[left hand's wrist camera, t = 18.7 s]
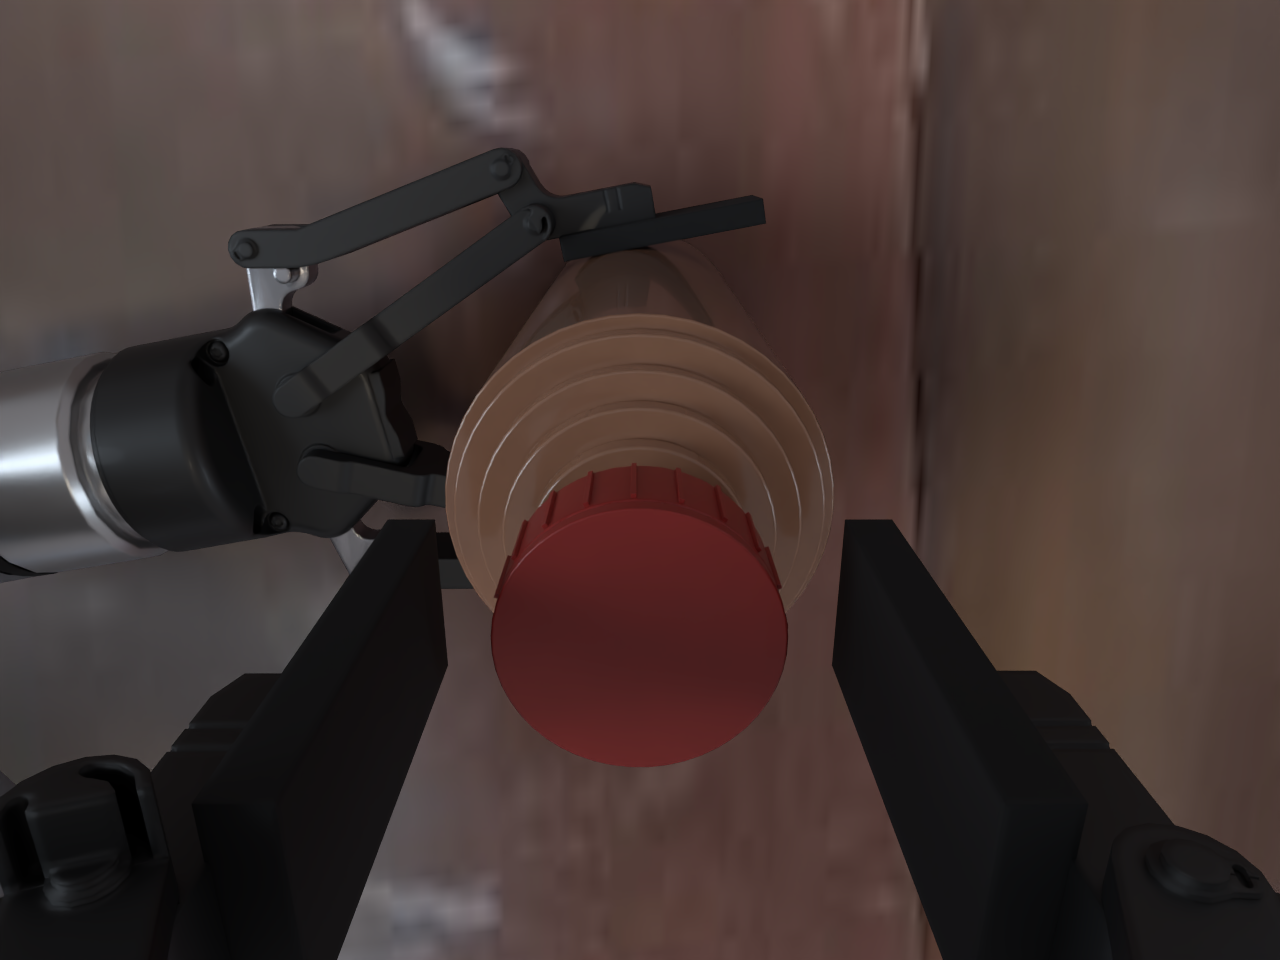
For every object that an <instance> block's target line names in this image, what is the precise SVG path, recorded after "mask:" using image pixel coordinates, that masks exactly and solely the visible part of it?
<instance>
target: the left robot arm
mask: <svg viewBox="0 0 1280 960" xmlns="http://www.w3.org/2000/svg"><path fill="white" fill-rule="evenodd" d="M447 666H448V660H447V649H446V638H445V627H444V616H443V605H442V594H441V583H440V571H439V560H438V549H437V538H436V527H435V520H387V522H386V523H385V525H384V526H383V528H382V529H381V530H380V532H379V533H378V535H377V536H376V538H375V539H374V541H373V542H372V543H371V545H370V546H369V548H368V549H367V551H366V552H365V554H364V555H363V556H362V558H361V559H360V561H359V562H358V564H357V565H356V567H355V568H354V569H353V571H352V572H351V574H350V575H349V577H348V578H347V580H346V581H345V582H344V584H343V585H342V587H341V588H340V590H339V591H338V593H337V594H336V596H335V597H334V598H333V600H332V601H331V603H330V604H329V606H328V607H327V609H326V610H325V611H324V613H323V614H322V616H321V617H320V619H319V620H318V622H317V623H316V624H315V626H314V627H313V629H312V630H311V632H310V633H309V635H308V636H307V637H306V639H305V640H304V642H303V643H302V645H301V646H300V648H299V649H298V650H297V652H296V653H295V655H294V656H293V658H292V659H291V661H290V662H289V663H288V665H287V666H286V668H285V669H284V671H283V672H282V674H244V675H242V676H241V677H239V678H238V679H236V680H235V681H233V682H232V683H230V684H229V685H227V686H226V687H224V688H223V689H221V690H220V691H218V692H217V693H215V694H214V695H212V696H211V697H210V698H209V700H208V701H207V702H206V703H205V705H204V706H203V707H202V708H201V710H200V711H199V712H198V713H197V715H196V716H195V717H194V718H193V720H192V721H191V722H190V723H189V729H185V730H184V731H183V732H182V734H181V735H180V736H179V737H178V739H177V740H176V741H175V742H174V744H173V745H172V749H171V752H166V754H165V755H164V756H163V758H162V759H161V760H160V761H159V763H158V764H157V765H156V766H155V768H154V769H153V770H152V771H151V772H150V770H149V769H148V768H147V767H146V766H145V765H143V764H142V763H141V762H140V761H138V760H137V759H134V758H129V757H123V756H118V755H105V756H93V757H84V758H81V759H77V760H73V761H70V762H66V763H63V764H59V765H56V766H53V767H51V768H48V769H46V770H44V771H42V772H40V773H38V774H36V775H34V776H32V777H30V778H27V779H25V780H23V781H21V782H20V783H19V784H17V785H16V786H15V787H13V788H12V789H10V790H9V791H8V792H6V793H5V794H4V795H2V796H1V797H0V884H1V887H2V890H3V893H4V896H3V897H1V898H0V960H337V958H338V956H339V953H340V950H341V948H342V945H343V942H344V940H345V937H346V934H347V932H348V929H349V927H350V924H351V921H352V919H353V916H354V913H355V911H356V908H357V905H358V903H359V900H360V897H361V895H362V892H363V889H364V887H365V884H366V881H367V879H368V876H369V873H370V871H371V868H372V865H373V863H374V860H375V857H376V855H377V852H378V850H379V847H380V844H381V842H382V839H383V836H384V834H385V831H386V828H387V826H388V823H389V820H390V818H391V815H392V812H393V810H394V807H395V804H396V802H397V799H398V796H399V794H400V791H401V788H402V786H403V783H404V780H405V778H406V775H407V773H408V770H409V767H410V765H411V762H412V759H413V757H414V754H415V751H416V749H417V746H418V743H419V741H420V738H421V735H422V733H423V730H424V727H425V725H426V722H427V719H428V717H429V714H430V711H431V709H432V706H433V703H434V701H435V698H436V696H437V693H438V690H439V688H440V685H441V682H442V680H443V677H444V674H445V672H446V669H447ZM832 666H833V669H834V672H835V674H836V677H837V680H838V682H839V685H840V688H841V690H842V693H843V696H844V698H845V701H846V703H847V706H848V709H849V711H850V714H851V717H852V719H853V722H854V725H855V727H856V730H857V733H858V735H859V738H860V741H861V743H862V746H863V749H864V751H865V754H866V757H867V759H868V762H869V765H870V767H871V770H872V773H873V775H874V778H875V780H876V783H877V786H878V788H879V791H880V794H881V796H882V799H883V802H884V804H885V807H886V810H887V812H888V815H889V818H890V820H891V823H892V826H893V828H894V831H895V834H896V836H897V839H898V842H899V844H900V847H901V850H902V852H903V855H904V857H905V860H906V863H907V865H908V868H909V871H910V873H911V876H912V879H913V881H914V884H915V887H916V889H917V892H918V895H919V897H920V900H921V903H922V905H923V908H924V911H925V913H926V916H927V919H928V921H929V924H930V927H931V929H932V932H933V934H934V937H935V940H936V942H937V945H938V948H939V950H940V953H941V956H942V958H943V960H1280V894H1279V893H1276V892H1275V891H1274V890H1273V888H1272V887H1271V885H1270V884H1269V883H1268V881H1267V880H1266V878H1265V877H1264V875H1263V874H1262V872H1261V871H1260V870H1258V869H1257V868H1256V867H1255V866H1254V865H1252V864H1251V863H1250V862H1249V861H1248V860H1246V859H1245V858H1244V857H1243V856H1242V855H1240V854H1239V853H1238V852H1237V851H1235V850H1233V849H1231V848H1230V847H1228V846H1226V845H1224V844H1222V843H1220V842H1218V841H1217V840H1215V839H1213V838H1211V837H1209V836H1207V835H1204V834H1201V833H1198V832H1195V831H1192V830H1189V829H1185V828H1182V827H1179V826H1176V825H1174V824H1173V823H1172V821H1171V820H1170V819H1169V818H1168V816H1167V815H1166V814H1165V813H1164V811H1163V810H1162V809H1161V808H1160V806H1159V805H1158V804H1157V803H1156V801H1155V800H1154V799H1153V797H1152V796H1151V795H1150V794H1149V792H1148V791H1147V790H1146V789H1145V787H1144V786H1143V785H1142V784H1141V782H1140V781H1139V780H1138V779H1137V777H1136V776H1135V775H1134V774H1133V772H1132V771H1131V770H1130V769H1129V767H1128V766H1127V765H1126V764H1125V762H1124V761H1123V760H1122V759H1121V757H1120V756H1119V755H1118V754H1117V752H1116V751H1115V750H1114V749H1110V748H1109V742H1108V741H1107V740H1106V739H1105V737H1104V736H1103V735H1102V734H1101V732H1100V731H1099V730H1098V729H1097V727H1096V726H1092V725H1091V720H1090V719H1089V717H1088V716H1087V715H1086V714H1085V712H1084V711H1083V710H1082V709H1081V707H1080V706H1079V705H1078V703H1077V702H1076V701H1075V700H1074V698H1073V697H1072V696H1071V695H1070V694H1069V693H1068V692H1066V691H1065V690H1063V689H1062V688H1060V687H1059V686H1057V685H1056V684H1054V683H1053V682H1051V681H1050V680H1048V679H1047V678H1046V677H1044V676H1043V675H1041V674H1040V673H1038V672H1037V671H996V669H995V668H994V666H993V665H992V663H991V662H990V661H989V659H988V658H987V656H986V655H985V653H984V652H983V650H982V649H981V648H980V646H979V645H978V643H977V642H976V640H975V639H974V637H973V636H972V635H971V633H970V632H969V630H968V629H967V627H966V626H965V624H964V623H963V622H962V620H961V619H960V617H959V616H958V614H957V613H956V611H955V610H954V609H953V607H952V606H951V604H950V603H949V601H948V600H947V598H946V597H945V596H944V594H943V593H942V591H941V590H940V588H939V587H938V585H937V584H936V583H935V581H934V580H933V578H932V577H931V575H930V574H929V572H928V571H927V569H926V568H925V567H924V565H923V564H922V562H921V561H920V559H919V558H918V556H917V555H916V554H915V552H914V551H913V549H912V548H911V546H910V545H909V543H908V542H907V541H906V539H905V538H904V536H903V535H902V533H901V532H900V530H899V529H898V528H897V526H896V525H895V523H894V522H893V520H845V527H844V538H843V549H842V560H841V571H840V582H839V594H838V605H837V616H836V627H835V638H834V649H833V660H832Z"/></svg>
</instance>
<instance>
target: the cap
mask: <svg viewBox="0 0 1280 960" xmlns="http://www.w3.org/2000/svg"><path fill="white" fill-rule="evenodd" d="M781 588H782V585H781V582H780V579H779V576H778V573H777V570H776V567H775V564H774V561H773V558H772V555H771V552H770V549H769V546H767V547H764V544H763V542H762V539H761V537H760V535H759V533H758V532H757V530H756V528H755V526H754V523H753V520H752V516H751V514H750V513H749V512H747V513H746V514H745V513H744V511H743V510H742V509H741V508H740V507H739V506H738V505H737V504H736V503H735V502H734V501H733V500H732V499H731V498H729V497H728V496H727V495H725V494H724V493H723V492H722V491H721V487H720V486H719V485H717V484H716V486H715V487H714V486H712V485H710V484H709V483H707V482H705V481H703V480H701V479H699V478H696V477H694V476H691V475H689V474H686V473H683V472H681V469H680V468H677V467H676V469H675V470H671V469H668V468H663V467H661V468H660V467H652V466H637V463H631V466H627V467H618V468H610V469H607V470H603V471H599V472H596V473H594V472H593V470H592V471H589V472H588V475H587V476H585V477H583V478H580V479H578V480H576V481H574V482H572V483H570V484H569V485H567V486H565V487H563V488H562V489H560V490H559V491H558V492H555V491H554V490H553V491H552V492H550V495H549V498H548V499H547V500H546V501H545V502H544V503H543V504H542V505H541V506H540V507H539V508H538V509H537V510H536V511H535V513H534V514H533V515H532V516H531V518H530V519H529V520H528V521H527V520H524V521H523V522H522V525H521V528H520V531H519V534H518V537H517V541H516V544H515V546H514V549H513V552H512V555H511V556H509V555H507V558H506V561H505V564H504V567H503V570H502V573H501V576H500V580H499V583H498V586H497V589H496V592H495V595H494V598H497V601H496V605H495V609H494V613H493V618H492V627H491V648H492V656H493V661H494V665H495V670H496V672H497V675H498V678H499V680H500V683H501V685H502V687H503V689H504V691H505V693H506V695H507V696H508V698H509V700H510V702H511V703H512V704H513V706H514V707H515V708H516V710H517V711H518V713H519V714H520V715H521V716H522V717H523V718H524V719H525V720H526V721H527V722H528V723H529V724H530V725H531V727H533V728H534V729H535V730H536V731H537V732H539V733H540V734H541V735H542V736H544V737H545V738H546V739H548V740H549V741H551V742H553V743H554V744H556V745H557V746H559V747H561V748H563V749H565V750H567V751H569V752H571V753H573V754H575V755H578V756H581V757H584V758H587V759H590V760H592V761H596V762H601V763H605V764H610V765H617V766H626V767H653V766H662V765H669V764H674V763H678V762H683V761H686V760H689V759H692V758H695V757H698V756H701V755H703V754H705V753H708V752H710V751H712V750H714V749H716V748H718V747H720V746H721V745H723V744H725V743H726V742H728V741H729V740H731V739H733V738H734V737H735V736H736V735H738V734H739V733H740V732H741V731H743V730H744V729H745V728H746V727H747V726H748V725H749V724H750V723H751V722H752V721H753V720H754V719H755V718H756V717H757V716H758V715H759V714H760V712H761V711H762V710H763V708H764V707H765V706H766V704H767V703H768V702H769V700H770V698H771V696H772V694H773V693H774V691H775V689H776V687H777V685H778V682H779V680H780V677H781V675H782V672H783V669H784V664H785V660H786V655H787V645H788V623H787V619H786V614H785V610H784V606H783V602H782V599H781V596H780V593H779V589H781Z"/></svg>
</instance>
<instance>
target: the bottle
mask: <svg viewBox="0 0 1280 960" xmlns="http://www.w3.org/2000/svg"><path fill="white" fill-rule="evenodd" d="M631 463H637V466H652V467H660V468H661V467H663V468H668V469H671V470H675V469H676V467H677V468H680V469H681V472H683V473H686V474H689V475H691V476H694V477H696V478H699V479H701V480H703V481H705V482H707V483H709V484H710V485H712V486H714V487H715V486H716V484H717V485H719V486H720V487H721V491H722V492H723V493H724V494H725V495H727V496H728V497H729V498H731V499H732V500H733V501H734V502H735V503H736V504H737V505H738V506H739V507H740V508H741V509H742V510H743V511H744V513H745V514H746V513H747V512H749V513H750V514H751V516H752V520H753V523H754V526H755V528H756V530H757V532H758V533H759V535H760V537H761V539H762V542H763V544H764V547H767V546H769V549H770V552H771V555H772V558H773V561H774V564H775V567H776V570H777V573H778V576H779V579H780V582H781V585H782V588H781V589H779V593H780V596H781V599H782V602H783V606H784V610H785V613H786V612H787V611H788V610H789V609H790V608H791V606H792V605H793V604H794V603H795V601H796V600H797V599H798V598H799V597H800V595H801V594H802V593H803V591H804V589H805V588H806V586H807V584H808V583H809V581H810V580H811V578H812V576H813V575H814V573H815V571H816V568H817V566H818V564H819V562H820V560H821V557H822V555H823V553H824V550H825V546H826V543H827V539H828V536H829V533H830V529H831V522H832V515H833V508H834V480H833V473H832V466H831V459H830V455H829V452H828V448H827V445H826V441H825V438H824V435H823V433H822V430H821V428H820V426H819V424H818V421H817V419H816V417H815V415H814V413H813V411H812V410H811V408H810V406H809V405H808V403H807V402H806V400H805V398H804V397H803V395H802V394H801V392H800V391H799V389H798V388H797V386H796V385H795V383H794V382H793V380H792V379H791V377H790V376H789V374H788V373H787V371H786V370H785V369H784V367H783V366H782V364H781V363H780V361H779V360H778V358H777V357H776V355H775V354H774V352H773V351H772V349H771V348H770V346H769V345H768V343H767V342H766V340H765V339H764V338H763V336H762V335H761V333H760V332H759V330H758V329H757V327H756V326H755V324H754V323H753V321H752V320H751V318H750V317H749V315H748V314H747V312H746V311H745V310H744V308H743V307H742V305H741V304H740V302H739V301H738V299H737V298H736V296H735V295H734V293H733V292H732V290H731V289H730V287H729V286H728V284H727V283H726V281H725V280H724V279H723V277H722V276H721V274H720V273H719V271H718V270H717V268H716V267H715V266H714V265H713V264H712V263H711V261H710V260H709V259H708V258H707V257H706V256H705V255H703V254H702V253H701V252H700V251H699V250H697V249H696V248H695V247H693V246H692V245H690V244H689V243H687V242H685V241H683V240H676V241H671V242H666V243H660V244H655V245H650V246H645V247H639V248H634V249H629V250H624V251H618V252H613V253H608V254H602V255H597V256H592V257H587V258H581V259H576V260H571V261H569V262H568V263H567V264H566V265H565V267H564V268H563V269H562V270H561V272H560V273H559V275H558V276H557V278H556V279H555V281H554V282H553V283H552V285H551V286H550V288H549V289H548V291H547V292H546V294H545V295H544V297H543V298H542V300H541V301H540V303H539V304H538V305H537V307H536V308H535V310H534V311H533V313H532V314H531V316H530V317H529V319H528V320H527V322H526V323H525V325H524V326H523V327H522V329H521V330H520V332H519V333H518V335H517V336H516V338H515V339H514V341H513V342H512V344H511V345H510V347H509V348H508V349H507V351H506V352H505V354H504V355H503V357H502V358H501V360H500V361H499V363H498V364H497V366H496V367H495V369H494V370H493V371H492V373H491V374H490V376H489V377H488V379H487V380H486V382H485V383H484V385H483V386H482V388H481V389H480V391H479V392H478V394H477V395H476V397H475V398H474V400H473V402H472V403H471V405H470V407H469V408H468V410H467V411H466V413H465V415H464V417H463V419H462V421H461V424H460V426H459V428H458V431H457V433H456V435H455V438H454V441H453V445H452V448H451V452H450V456H449V460H448V465H447V474H446V482H445V506H446V515H447V521H448V527H449V533H450V536H451V539H452V543H453V546H454V549H455V552H456V555H457V557H458V559H459V562H460V564H461V566H462V568H463V570H464V572H465V575H466V576H467V578H468V580H469V581H470V583H471V584H472V586H473V587H474V589H475V591H476V592H477V594H478V595H479V597H480V598H481V599H482V600H483V601H484V603H485V604H486V605H487V606H488V607H489V609H490V610H491V611H492V612H493V613H494V609H495V605H496V601H497V598H494V595H495V592H496V589H497V586H498V583H499V580H500V576H501V573H502V570H503V567H504V564H505V561H506V558H507V555H509V556H511V555H512V552H513V549H514V546H515V544H516V541H517V537H518V534H519V531H520V528H521V525H522V522H523V521H524V520H527V521H528V520H529V519H530V518H531V516H532V515H533V514H534V513H535V511H536V510H537V509H538V508H539V507H540V506H541V505H542V504H543V503H544V502H545V501H546V500H547V499H548V498H549V495H550V492H552V491H553V490H554V491H555V492H558V491H559V490H560V489H562V488H563V487H565V486H567V485H569V484H570V483H572V482H574V481H576V480H578V479H580V478H583V477H585V476H587V475H588V472H589V471H592V470H593V472H594V473H596V472H599V471H603V470H607V469H610V468H618V467H627V466H631Z"/></svg>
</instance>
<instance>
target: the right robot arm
mask: <svg viewBox="0 0 1280 960" xmlns="http://www.w3.org/2000/svg"><path fill="white" fill-rule="evenodd" d="M496 194H498V195H499V197H500V198H501V200H502V202H503V203H504V205H505V206H506V208H507V210H508V211H509V213H510V215H511V217H510V218H508V219H507V220H506V221H504V222H503V223H501V224H500V225H499V226H497V227H496V228H495V229H493V230H492V231H491V232H489V233H488V234H486V235H485V236H484V237H482V238H481V239H480V240H478V241H477V242H476V243H474V244H473V245H471V246H470V247H469V248H467V249H466V250H465V251H463V252H462V253H461V254H459V255H458V256H457V257H455V258H454V259H452V260H451V261H450V262H448V263H447V264H446V265H444V266H443V267H442V268H440V269H439V270H437V271H436V272H435V273H433V274H432V275H431V276H429V277H428V278H427V279H425V280H424V281H422V282H421V283H420V284H418V285H417V286H416V287H414V288H413V289H412V290H410V291H409V292H407V293H406V294H405V295H403V296H402V297H401V298H399V299H398V300H397V301H395V302H394V303H392V304H391V305H390V306H388V307H387V308H386V309H384V310H383V311H382V312H380V313H379V314H377V315H376V316H375V317H373V318H372V319H370V320H369V321H368V322H366V323H365V324H363V325H362V326H360V327H359V328H358V329H356V330H355V331H354V332H352V333H351V332H349V331H347V330H345V329H342V328H340V327H338V326H336V325H333V324H331V323H329V322H327V321H325V320H322V319H320V318H318V317H316V316H313V315H311V314H309V313H307V312H304V311H302V310H300V309H298V308H296V307H293V306H292V298H293V295H294V293H295V292H296V291H297V290H298V289H301V288H303V287H306V286H308V285H310V284H312V283H313V282H314V281H315V280H316V278H317V275H318V263H321V262H324V261H327V260H330V259H333V258H336V257H339V256H342V255H345V254H348V253H351V252H354V251H356V250H359V249H361V248H364V247H366V246H369V245H371V244H374V243H376V242H379V241H381V240H384V239H386V238H389V237H391V236H394V235H396V234H399V233H401V232H404V231H406V230H409V229H411V228H414V227H416V226H419V225H421V224H424V223H426V222H429V221H431V220H434V219H436V218H439V217H441V216H444V215H446V214H449V213H451V212H454V211H456V210H459V209H461V208H464V207H466V206H469V205H471V204H474V203H476V202H479V201H481V200H484V199H486V198H489V197H491V196H494V195H496ZM760 224H766V220H765V212H764V204H763V199H762V198H759V197H756V196H753V195H750V196H745V197H740V198H735V199H730V200H724V201H719V202H714V203H709V204H704V205H698V206H693V207H688V208H683V209H678V210H672V211H667V212H662V213H657V214H655V209H654V203H653V197H652V191H651V186H650V185H645V184H641V183H636V182H633V183H628V184H622V185H618V186H612V187H607V188H602V189H597V190H592V191H587V192H581V193H576V194H571V195H566V196H559V195H554V194H552V193H550V192H548V191H547V190H546V189H545V188H544V187H543V186H542V184H541V183H540V181H539V180H538V178H537V176H536V175H535V173H534V171H533V170H532V168H531V166H530V164H529V160H528V159H527V157H526V155H525V154H524V153H522V152H521V151H520V150H517V149H513V148H497V149H493V150H491V151H488V152H486V153H483V154H481V155H478V156H476V157H473V158H471V159H468V160H466V161H464V162H461V163H459V164H456V165H454V166H451V167H449V168H446V169H444V170H441V171H439V172H437V173H434V174H432V175H429V176H427V177H424V178H422V179H419V180H417V181H414V182H412V183H410V184H407V185H405V186H402V187H400V188H397V189H395V190H392V191H390V192H387V193H385V194H383V195H380V196H378V197H375V198H373V199H370V200H368V201H365V202H363V203H360V204H358V205H356V206H353V207H351V208H348V209H346V210H343V211H341V212H338V213H336V214H333V215H331V216H329V217H326V218H324V219H321V220H319V221H316V222H314V223H311V224H273V225H268V226H263V227H257V228H252V229H247V230H242V231H237V232H236V233H234V234H233V235H232V236H231V238H230V240H229V242H228V251H229V253H230V256H231V258H232V259H233V260H234V261H235V263H236V264H238V265H240V266H241V267H244V268H246V270H247V276H248V282H249V288H250V294H251V300H252V306H253V311H252V312H251V313H249V314H247V315H246V316H245V317H244V318H243V319H242V320H241V321H240V322H239V323H238V324H237V325H235V326H234V327H231V328H227V329H222V330H217V331H212V332H207V333H201V334H196V335H191V336H185V337H180V338H175V339H170V340H164V341H159V342H154V343H148V344H143V345H138V346H133V347H129V348H126V349H124V350H122V351H120V352H119V353H118V354H116V353H108V352H101V353H95V354H90V355H85V356H80V357H75V358H70V359H65V360H59V361H54V362H49V363H44V364H39V365H34V366H28V367H23V368H18V369H13V370H8V371H3V372H0V583H2V582H8V581H13V580H19V579H24V578H29V577H35V576H41V575H48V574H54V573H58V572H63V571H70V570H76V569H82V568H88V567H94V566H101V565H107V564H113V563H119V562H125V561H132V560H138V559H144V558H150V557H154V556H159V555H162V554H163V553H165V552H167V551H168V550H169V551H176V552H179V551H189V550H195V549H200V548H206V547H212V546H218V545H223V544H229V543H235V542H241V541H247V540H252V539H258V538H264V537H268V536H273V535H277V534H281V533H286V532H303V533H308V534H312V535H315V536H318V537H323V538H330V539H331V541H332V543H333V545H334V547H335V548H336V550H337V552H338V554H339V556H340V558H341V559H342V561H343V563H344V565H345V567H346V569H347V571H348V572H349V575H350V574H351V572H352V571H353V569H354V568H355V567H356V565H357V564H358V562H359V561H360V559H361V558H362V556H363V555H364V554H365V552H366V551H367V549H368V548H369V546H370V545H371V543H372V542H373V541H374V539H375V538H376V536H377V535H378V533H379V532H380V530H375V529H371V528H369V527H367V526H366V525H364V524H363V522H362V521H361V518H362V517H363V516H364V515H365V514H366V513H367V511H368V510H369V509H370V508H371V507H372V506H373V505H374V504H375V503H376V502H377V500H382V501H387V502H392V503H396V504H401V505H406V506H412V507H420V506H423V505H434V506H439V507H443V508H446V506H445V482H446V474H447V465H448V460H449V456H450V452H449V451H447V450H446V449H445V448H444V447H442V446H440V445H437V444H433V443H428V442H424V441H419V440H417V435H416V432H415V428H414V425H413V421H412V419H411V417H410V416H409V414H408V412H407V410H406V409H405V407H404V405H403V404H402V402H401V390H400V376H399V373H398V369H397V366H396V362H395V359H390V360H389V358H388V357H387V354H389V353H390V352H391V351H393V350H394V349H395V348H397V347H398V346H400V345H401V344H402V343H404V342H405V341H406V340H408V339H409V338H411V337H412V336H413V335H415V334H416V333H418V332H419V331H420V330H422V329H423V328H425V327H426V326H427V325H429V324H430V323H431V322H433V321H434V320H436V319H437V318H438V317H440V316H441V315H443V314H444V313H445V312H447V311H448V310H450V309H451V308H452V307H454V306H455V305H456V304H458V303H459V302H461V301H462V300H463V299H465V298H466V297H468V296H469V295H470V294H472V293H473V292H474V291H476V290H477V289H479V288H480V287H481V286H483V285H484V284H486V283H487V282H488V281H490V280H491V279H493V278H494V277H495V276H497V275H498V274H499V273H501V272H502V271H504V270H505V269H506V268H508V267H509V266H511V265H512V264H513V263H515V262H516V261H518V260H519V259H520V258H522V257H523V256H524V255H526V254H527V253H529V252H530V251H531V250H533V249H534V248H536V247H537V246H538V245H540V244H541V243H543V242H544V241H546V240H550V239H556V238H559V239H560V244H561V249H562V254H563V258H564V262H566V261H571V260H576V259H581V258H587V257H592V256H597V255H602V254H608V253H613V252H618V251H624V250H629V249H634V248H639V247H645V246H650V245H655V244H660V243H666V242H671V241H676V240H681V239H687V238H692V237H697V236H703V235H708V234H713V233H718V232H724V231H729V230H734V229H739V228H745V227H750V226H755V225H760ZM436 538H437V549H438V560H439V571H440V583H441V589H474V587H473V586H472V584H471V583H470V581H469V580H468V578H467V576H466V575H465V572H464V570H463V568H462V566H461V564H460V562H459V559H458V557H457V555H456V552H455V549H454V546H453V543H452V539H451V536H450V533H449V532H444V533H436ZM348 577H349V576H348ZM346 580H347V579H346ZM15 786H16V785H15V784H14V783H13V782H12V781H11V780H10V779H9V778H8V777H7V776H5V775H4V774H3V773H2V772H1V771H0V797H1V796H2V795H4V794H5V793H6V792H8V791H9V790H10V789H12V788H13V787H15ZM3 896H4V893H3V890H2V887H1V884H0V898H1V897H3Z"/></svg>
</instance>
